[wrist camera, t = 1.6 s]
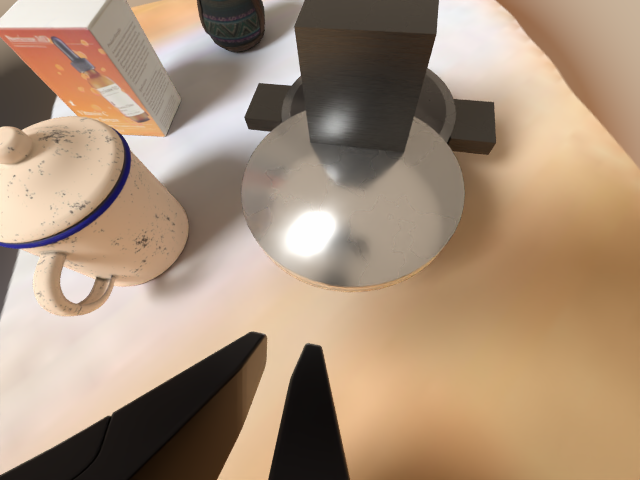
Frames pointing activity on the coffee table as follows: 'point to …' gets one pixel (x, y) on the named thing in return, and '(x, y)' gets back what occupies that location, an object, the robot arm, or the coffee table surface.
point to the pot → (433, 109)
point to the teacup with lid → (85, 210)
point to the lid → (356, 153)
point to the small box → (94, 61)
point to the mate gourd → (233, 22)
